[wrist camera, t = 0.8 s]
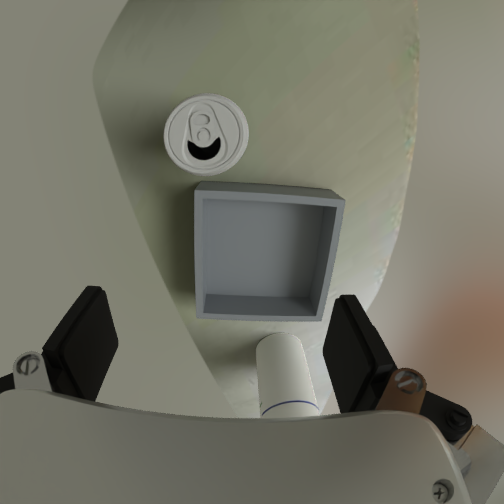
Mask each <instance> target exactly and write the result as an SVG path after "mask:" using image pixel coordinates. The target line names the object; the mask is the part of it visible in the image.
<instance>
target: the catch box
mask: <svg viewBox="0 0 504 504" xmlns="http://www.w3.org/2000/svg"><path fill="white" fill-rule="evenodd" d="M344 206H345V199H343V198H342V197H340V196H339V195H338V194H336V193H335V192H334V191H332V190H329V189H319V188H308V187H297V186H285V185H271V184H256V183H238V182H214V181H201V182H200V183H199V185H198V186H197V187H196V189H195V190H194V255H195V294H196V317H197V318H202V319H220V320H245V321H321V320H322V316H323V312H324V308H325V304H326V299H327V295H328V291H329V286H330V281H331V277H332V272H333V267H334V262H335V257H336V252H337V247H338V241H339V236H340V230H341V225H342V219H343V213H344Z"/></svg>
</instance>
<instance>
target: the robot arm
mask: <svg viewBox="0 0 504 504" xmlns="http://www.w3.org/2000/svg"><path fill="white" fill-rule="evenodd" d="M117 348H118V338H117V334H116V331H115V327H114V323H113V320H112V316H111V312H110V308H109V304H108V300H107V296H106V293H105V291H104V290H102V288H101V287H100V286H87V287H86V288H85V289H84V291H83V292H82V293H81V295H80V296H79V297H78V298H77V300H76V301H75V303H74V304H73V305H72V306H71V308H70V309H69V310H68V312H67V313H66V315H65V316H64V317H63V319H62V320H61V321H60V323H59V324H58V326H57V327H56V329H55V330H54V331H53V333H52V334H51V336H50V337H49V339H48V340H47V342H46V343H45V345H44V346H43V348H42V349H43V352H42V354H39V353H37V352H33V351H31V352H26V353H24V354H21V355H20V356H19V357H18V358H17V359H16V360H15V362H14V365H13V373H11V374H8V375H6V376H4V377H1V378H0V504H485V503H486V501H487V499H488V498H489V496H490V495H491V493H492V491H493V490H494V488H495V486H496V485H497V483H498V481H499V479H500V477H501V476H502V474H503V472H504V445H503V444H502V443H500V442H499V441H498V440H496V439H495V438H494V437H493V436H491V435H490V434H489V433H488V432H486V431H485V430H484V429H482V428H481V427H480V426H479V425H476V426H475V427H474V426H473V425H472V418H471V415H470V413H469V412H468V411H467V410H466V409H465V408H464V407H462V406H460V405H458V404H455V403H453V402H451V401H449V400H447V399H444V398H442V397H440V396H438V395H435V394H433V393H431V392H429V391H426V387H427V383H426V380H425V379H424V377H423V376H422V375H421V374H420V373H419V372H417V371H416V370H414V369H410V368H400V369H398V368H397V366H396V365H395V362H394V361H393V359H392V357H391V355H390V353H389V351H388V349H387V348H386V346H385V344H384V342H383V340H382V338H381V337H380V335H379V333H378V331H377V330H376V328H375V327H374V326H373V325H372V323H371V322H370V320H369V318H368V316H367V315H366V313H365V311H364V309H363V308H362V306H361V304H360V302H359V301H358V299H357V297H356V296H355V295H340V297H339V298H337V299H336V300H335V303H334V307H333V311H332V315H331V319H330V323H329V327H328V331H327V335H326V338H325V342H324V346H323V356H324V360H325V363H326V366H327V369H328V373H329V376H330V379H331V382H332V386H333V389H334V392H335V396H336V399H337V402H338V406H339V409H340V413H341V414H332V415H320V416H306V417H290V418H213V417H196V416H185V415H175V414H166V413H157V412H150V411H143V410H136V409H130V408H124V407H119V406H113V405H108V404H103V403H99V402H95V400H96V398H97V395H98V393H99V390H100V388H101V385H102V383H103V380H104V378H105V376H106V373H107V371H108V368H109V366H110V364H111V362H112V359H113V357H114V355H115V352H116V350H117Z"/></svg>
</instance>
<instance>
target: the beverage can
mask: <svg viewBox="0 0 504 504" xmlns="http://www.w3.org/2000/svg"><path fill="white" fill-rule="evenodd" d="M163 137H164V145H165V148H166V151H167V153H168V155H169V157H170V159H171V160H172V161H173V162H174V163H175V164H176V165H177V166H178V167H179V168H180V169H182V170H184V171H186V172H188V173H191V174H193V175H198V176H211V175H216V174H219V173H222V172H224V171H226V170H228V169H229V168H231V167H232V166H233V165H235V164H236V163H237V162H238V160H239V159H240V158H241V156H242V155H243V153H244V151H245V149H246V147H247V143H248V138H249V129H248V124H247V120H246V118H245V116H244V114H243V112H242V111H241V109H240V108H239V107H238V106H237V105H236V104H235V103H234V102H233V101H231V100H230V99H228V98H226V97H224V96H221V95H218V94H212V93H202V94H197V95H193V96H191V97H188V98H186V99H185V100H183V101H182V102H180V103H179V104H178V105H177V106H176V107H175V108H174V109H173V110H172V112H171V113H170V115H169V116H168V118H167V121H166V123H165V127H164V136H163Z"/></svg>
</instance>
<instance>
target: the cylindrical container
mask: <svg viewBox="0 0 504 504" xmlns="http://www.w3.org/2000/svg"><path fill="white" fill-rule="evenodd" d="M256 363H257V376H258V389H259V402H260V416H261V418H290V417H306V416H320V414H319V410H318V405H317V401H316V397H315V393H314V389H313V385H312V381H311V377H310V374H309V370H308V366H307V362H306V358H305V354H304V350H303V346H302V343H301V341H300V340H299V338H297V337H296V336H294V335H292V334H289V333H275V334H271V335H269V336H267V337H265V338H263V339H262V340H261V341H260V342H259V343H258V345H257V347H256Z"/></svg>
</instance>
